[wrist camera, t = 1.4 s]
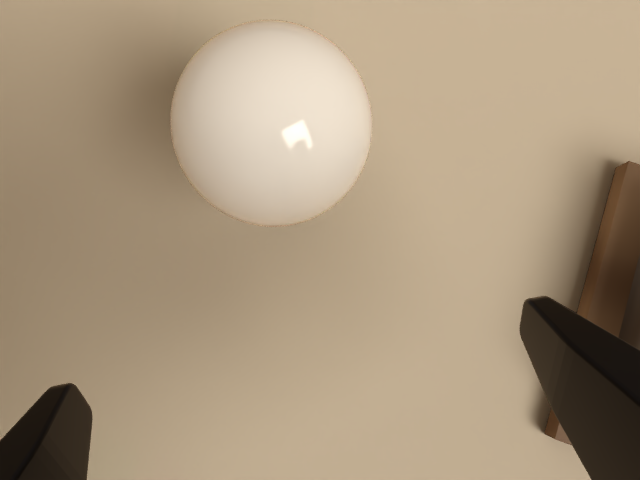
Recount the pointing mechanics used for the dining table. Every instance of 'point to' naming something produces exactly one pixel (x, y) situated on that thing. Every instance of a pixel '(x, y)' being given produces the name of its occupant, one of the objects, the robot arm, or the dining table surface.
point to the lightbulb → (271, 123)
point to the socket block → (614, 270)
